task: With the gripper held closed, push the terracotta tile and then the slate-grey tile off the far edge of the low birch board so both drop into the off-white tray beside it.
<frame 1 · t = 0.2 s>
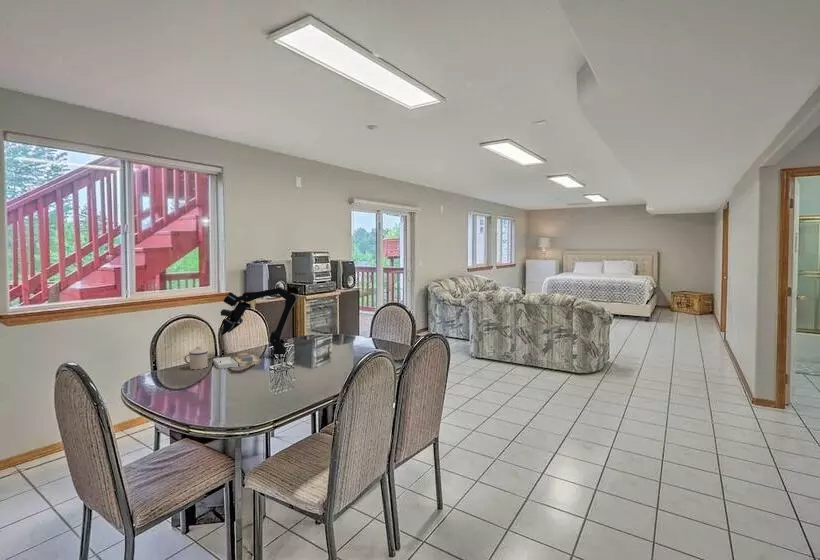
hand: (225, 333, 255), 15 cm above the table, tool tilted 30°, fingers open, 9 cm apart
terracotta tile: (243, 357, 249), point 2 cm above the table, touching birch board
teacup with lid: (196, 368, 234), on the table
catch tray: (225, 364, 240), on the table
slate tile: (247, 360, 242), point 2 cm above the table, touching birch board
birch board: (247, 362, 246), on the table
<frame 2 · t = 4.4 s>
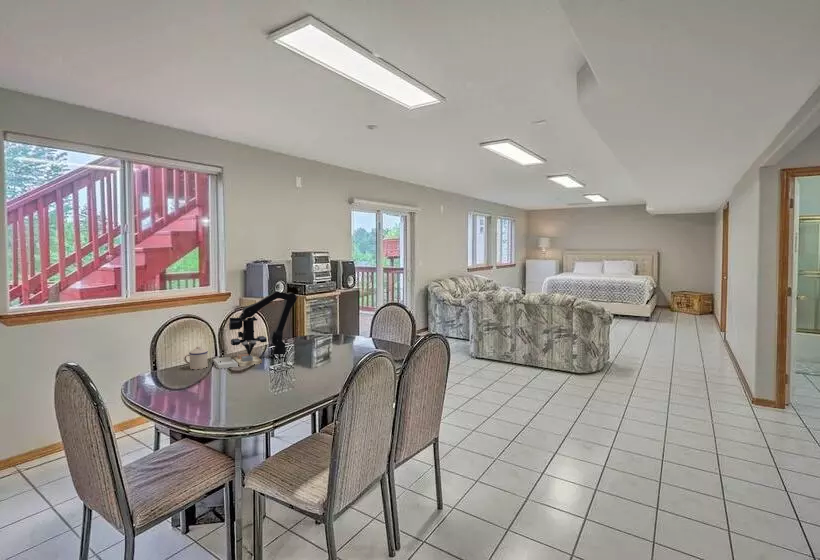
hand: (249, 355, 250), 3 cm above the table, tool pointing down, fingers closed
terracotta tile: (243, 357, 248), point 2 cm above the table, touching gripper
everything else where it was.
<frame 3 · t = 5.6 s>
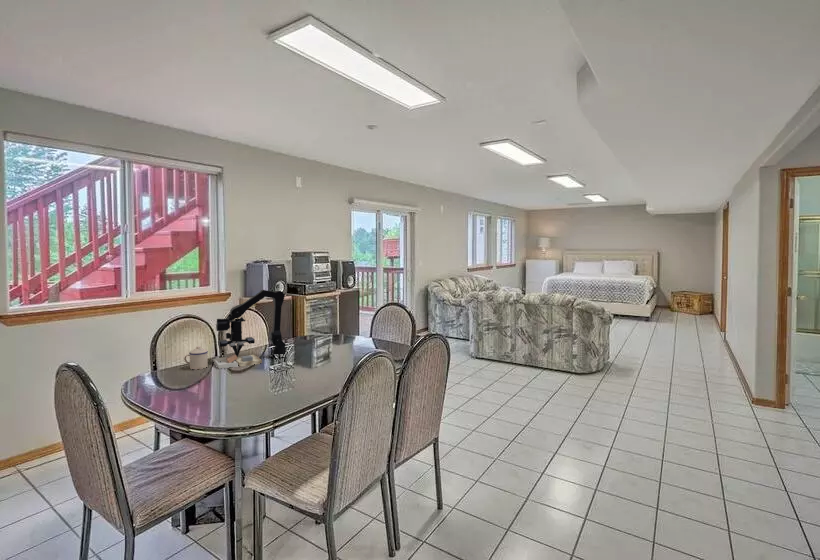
hand: (236, 356, 246), 3 cm above the table, tool pointing down, fingers closed
terracotta tile: (232, 359, 245), point 2 cm above the table, tilted 24°, touching gripper
everything else where it was.
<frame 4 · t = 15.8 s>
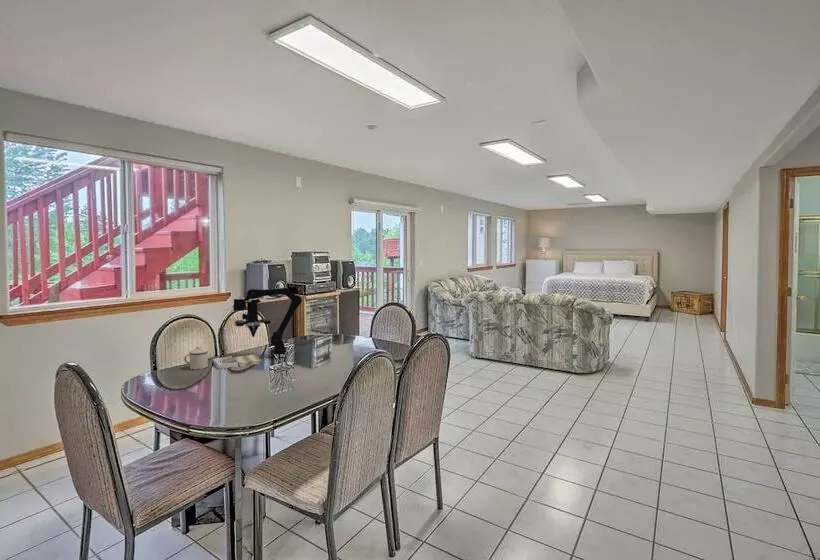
hand: (253, 336, 253), 13 cm above the table, tool pointing down, fingers closed
terracotta tile: (228, 361, 243), point 1 cm above the table, tilted 11°, touching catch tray
slate tile: (230, 363, 238), point 1 cm above the table, tilted 11°, touching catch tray
everything else where it was.
at the end: terracotta tile inside the target area (3.8 cm from its centre), point 1.1 cm above the table; slate tile inside the target area (4.0 cm from its centre), point 1.1 cm above the table; teacup with lid moved 0.2 cm from its start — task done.
